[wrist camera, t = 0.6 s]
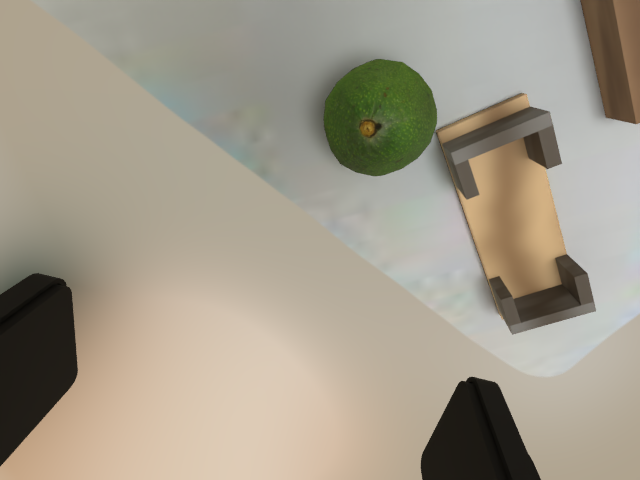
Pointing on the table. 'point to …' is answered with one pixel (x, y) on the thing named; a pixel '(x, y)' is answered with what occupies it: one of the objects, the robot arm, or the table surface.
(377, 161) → the avocado
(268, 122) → the table surface
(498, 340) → the table surface
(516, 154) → the rail
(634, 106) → the slat
